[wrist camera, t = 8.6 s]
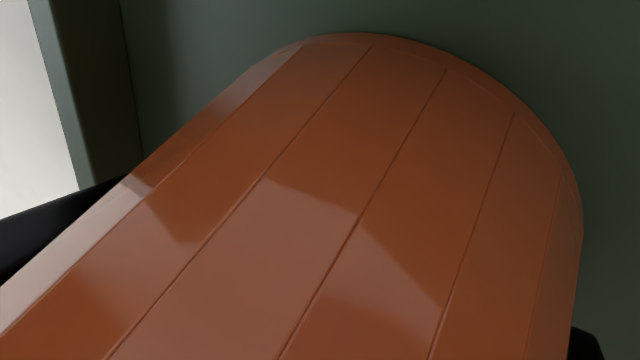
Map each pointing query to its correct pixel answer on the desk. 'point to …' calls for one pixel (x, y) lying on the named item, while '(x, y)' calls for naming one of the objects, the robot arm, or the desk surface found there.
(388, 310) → the large cup
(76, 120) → the tray
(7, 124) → the desk surface
